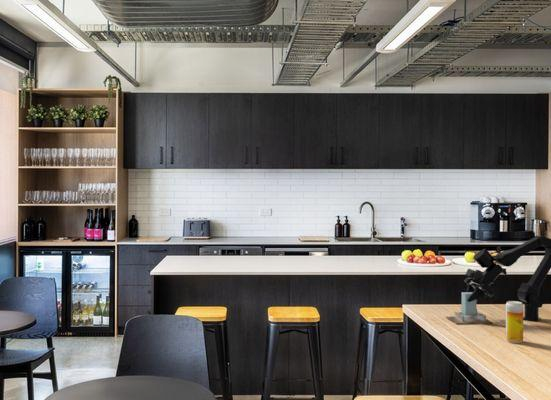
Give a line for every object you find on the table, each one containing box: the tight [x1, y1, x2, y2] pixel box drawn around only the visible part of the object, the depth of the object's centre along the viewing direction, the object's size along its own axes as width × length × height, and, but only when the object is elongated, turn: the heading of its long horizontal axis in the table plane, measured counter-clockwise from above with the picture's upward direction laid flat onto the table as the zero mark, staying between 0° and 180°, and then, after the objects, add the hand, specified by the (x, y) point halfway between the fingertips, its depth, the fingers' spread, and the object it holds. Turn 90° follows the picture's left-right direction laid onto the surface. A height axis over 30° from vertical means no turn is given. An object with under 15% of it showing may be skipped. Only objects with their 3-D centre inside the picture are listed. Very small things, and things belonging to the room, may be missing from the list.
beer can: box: [505, 300, 524, 344], centre depth 201 cm, size 6×6×15 cm
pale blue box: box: [461, 291, 478, 316], centre depth 234 cm, size 6×4×10 cm, turn 94°
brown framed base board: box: [445, 311, 494, 326], centre depth 234 cm, size 16×12×3 cm
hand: (465, 300), depth 234 cm, fingers closed on pale blue box, 4 cm apart
